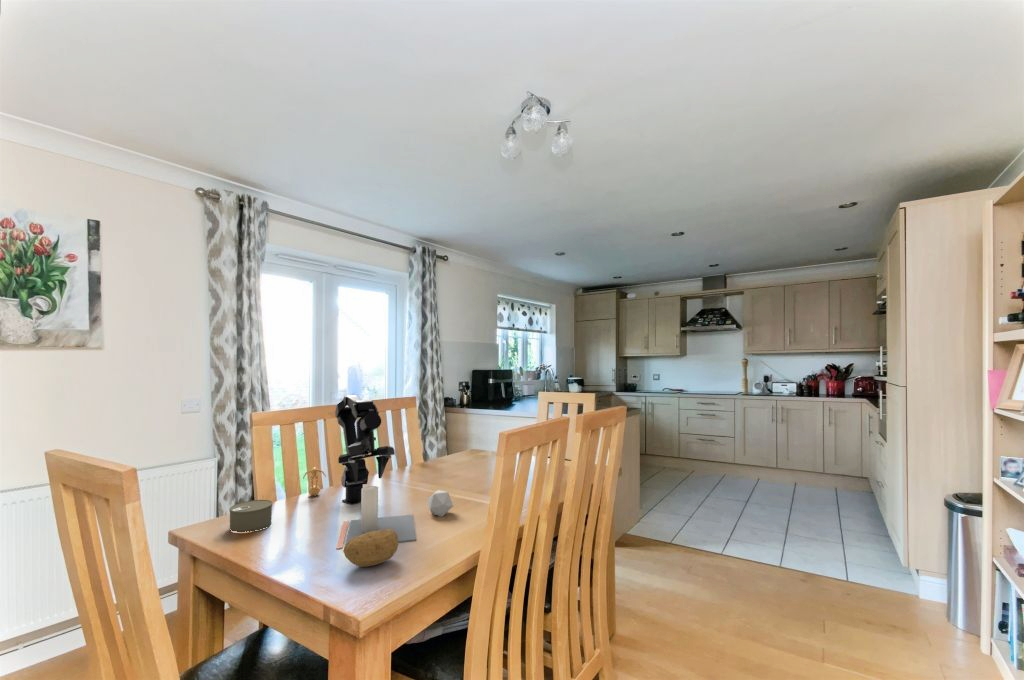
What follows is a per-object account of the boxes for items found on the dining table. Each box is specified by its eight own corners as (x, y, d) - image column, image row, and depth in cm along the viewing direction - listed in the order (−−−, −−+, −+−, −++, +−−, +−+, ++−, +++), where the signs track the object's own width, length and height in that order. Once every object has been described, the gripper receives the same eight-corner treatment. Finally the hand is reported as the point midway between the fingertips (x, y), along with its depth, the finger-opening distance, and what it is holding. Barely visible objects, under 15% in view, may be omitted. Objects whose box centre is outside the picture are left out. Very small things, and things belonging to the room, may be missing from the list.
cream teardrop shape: (357, 532, 137) (358, 490, 138) (366, 526, 142) (366, 485, 143) (373, 533, 136) (373, 490, 137) (380, 527, 141) (381, 486, 142)
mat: (344, 548, 127) (344, 546, 127) (351, 521, 148) (351, 520, 148) (416, 540, 132) (416, 539, 132) (412, 515, 153) (412, 514, 153)
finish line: (342, 548, 127) (342, 547, 127) (336, 549, 126) (336, 548, 126) (348, 521, 148) (348, 520, 148) (343, 522, 147) (343, 521, 147)
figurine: (325, 493, 180) (326, 462, 180) (325, 497, 174) (325, 466, 175) (303, 495, 177) (303, 464, 177) (301, 499, 171) (302, 468, 172)
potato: (339, 564, 117) (339, 533, 118) (392, 551, 125) (392, 522, 125) (348, 579, 109) (348, 546, 109) (403, 565, 117) (404, 533, 117)
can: (279, 525, 145) (279, 503, 145) (240, 537, 135) (240, 514, 135) (260, 518, 152) (261, 497, 152) (221, 529, 142) (222, 507, 142)
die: (457, 515, 155) (453, 488, 161) (447, 510, 148) (443, 482, 154) (436, 523, 156) (432, 496, 162) (425, 518, 149) (422, 490, 155)
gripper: (328, 438, 152) (329, 485, 147) (378, 427, 149) (381, 475, 144) (346, 440, 162) (348, 485, 157) (393, 431, 160) (396, 476, 154)
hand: (367, 480), depth 153 cm, fingers open, 9 cm apart
